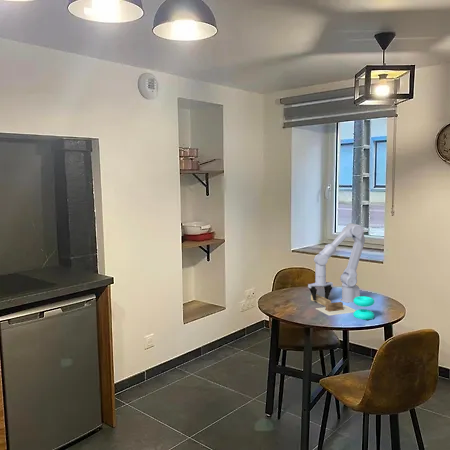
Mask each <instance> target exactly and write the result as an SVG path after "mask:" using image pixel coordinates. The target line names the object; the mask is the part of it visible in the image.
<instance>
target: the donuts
mask: <svg viewBox="0 0 450 450" xmlns="http://www.w3.org/2000/svg"><path fill="white" fill-rule="evenodd" d="M353 301H354V302H353V303H354V304H355V305H356V306H358V307H364V308H365V307H372V306H373V305H374V304H375V299H374V298H372V297H370V296H366V295H365V296H364V295H363V296H362V295H360V296H359V297H355V298H354V300H353ZM364 308H363V309H362V308H360V309H355V310H356V311H355V312H353V313H352V315H353V317H354V318H356V319H357V320H358V319H359V320H362V321H369V320H372V319H374V318H375V312H373V311H372V310H370V309H364Z"/></svg>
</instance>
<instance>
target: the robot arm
mask: <svg viewBox="0 0 450 450" xmlns="http://www.w3.org/2000/svg"><path fill="white" fill-rule="evenodd" d="M364 231H365V229H364V228H363V227H362V225H360V224H357V223H352V222H350V223H348V224H346V225H345V226H344V227H343V229H342V230H341V231H340V233H339V234H338V235H337V236H336V237H335V239H334V240H333V241H332V242H331V243H327V244H325V245H324V248H323V249H321V251H319V252H318V254H316V255H315V256H314V258H313V262H314V263H315V264H314V265H315V267H314V268H315V271H314V272H315V273H314V275H315V277H314V278H315V279H314V281H315V282H313V283H307V288H308V289H309V291H310V293H311V294H310V295H312V297H313V300H314V301H313V302H316V294H317V291H318V289H317V288H324V298H326V299H328V300H329V297H330V293H331V291H332V290H333V286H334V282H332V281H326V280H327V273H326V272H327V268H326V267H327V264H328V261H329V259H330V258H331V257H332V256H333V255H334V253H336V252H337V247H338V246H339V245H340V244H341V243H342V242H344V240H346V239H347V238H352V240H353V245H352V248H351V252H350V256H349V258H348V262H347V266H346V268H345V269H344V270H343V272H342V274H341V275H340V278H339V280H340V282H341V283H342V284H341V298H340V299H338V301H340V302H342V303H345V304H348V303H354V301H353V300H354V298H355V297H359V296H361V289H360V287H359V285H357V283H358V279H357V276H358V272H357V269H358V266H359V262H360V260H361V259H360V258H361V255H362V252H363V248H364V246H365V241H366V239H365V238H366V237H365V234H364Z"/></svg>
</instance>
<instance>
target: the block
mask: <svg viewBox="0 0 450 450" xmlns="http://www.w3.org/2000/svg"><path fill="white" fill-rule="evenodd" d="M343 305H344V302H343V301H338V302H331V303H327V304H326V306H325V307H326V309H325V310H327V311H329V312H331V311H339V310H344V309H343Z"/></svg>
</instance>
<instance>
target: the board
mask: <svg viewBox="0 0 450 450" xmlns="http://www.w3.org/2000/svg"><path fill="white" fill-rule="evenodd" d="M325 309H326V306H323V307H317V308H315V310H317V311H319V312H320V313H323V314H324V315H327V316H335V315H345V314H353V313H354V312H355V311H356V310H357V309H354V308H352V307H350V306H348V305H346V304H343V309H344V310H339V311H331V312H329V311H327V310H325Z"/></svg>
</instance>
